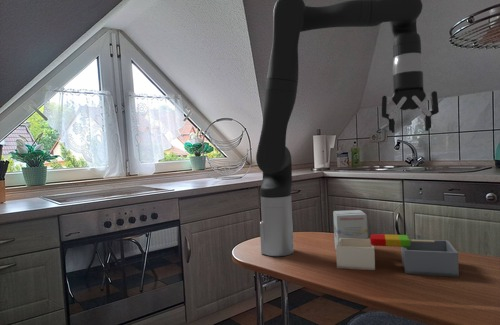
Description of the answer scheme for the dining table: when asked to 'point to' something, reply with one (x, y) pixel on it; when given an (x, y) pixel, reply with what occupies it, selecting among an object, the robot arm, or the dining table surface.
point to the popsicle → (393, 240)
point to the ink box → (350, 225)
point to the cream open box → (355, 254)
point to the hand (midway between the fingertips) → (409, 131)
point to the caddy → (430, 258)
